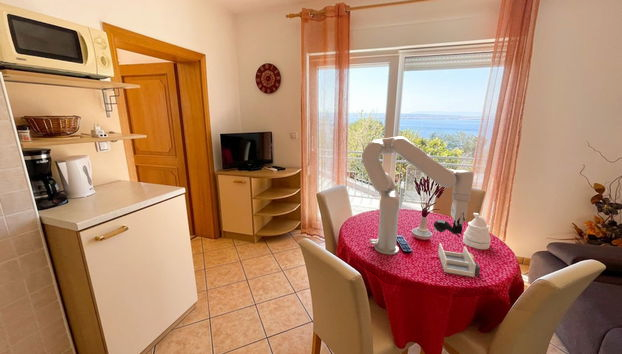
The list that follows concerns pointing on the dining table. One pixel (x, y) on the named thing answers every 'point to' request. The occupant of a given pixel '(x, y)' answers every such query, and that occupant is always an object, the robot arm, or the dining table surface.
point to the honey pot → (477, 233)
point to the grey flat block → (477, 269)
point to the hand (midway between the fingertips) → (457, 232)
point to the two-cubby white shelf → (457, 262)
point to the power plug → (443, 226)
